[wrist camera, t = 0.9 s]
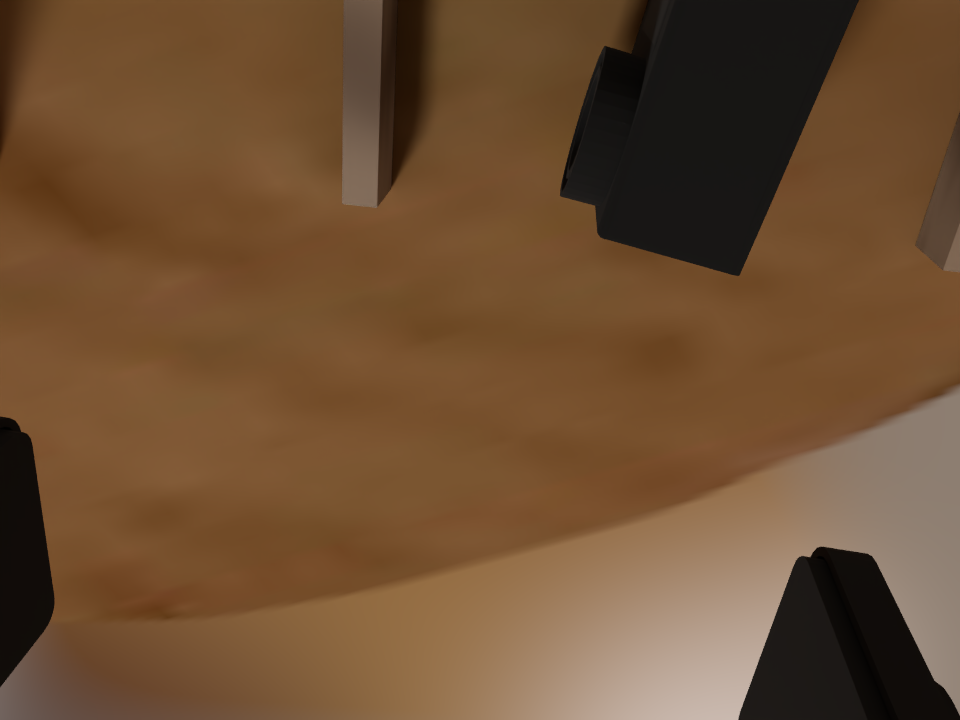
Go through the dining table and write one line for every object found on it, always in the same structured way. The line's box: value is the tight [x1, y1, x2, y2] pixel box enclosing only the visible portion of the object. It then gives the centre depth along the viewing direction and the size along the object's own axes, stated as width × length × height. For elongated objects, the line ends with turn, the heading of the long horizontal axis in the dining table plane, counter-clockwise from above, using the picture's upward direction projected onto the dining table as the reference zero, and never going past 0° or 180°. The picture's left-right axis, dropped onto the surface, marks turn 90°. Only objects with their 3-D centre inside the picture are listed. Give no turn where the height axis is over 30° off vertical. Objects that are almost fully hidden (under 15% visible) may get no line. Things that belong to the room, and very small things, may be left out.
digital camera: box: [560, 0, 859, 276], centre depth 24 cm, size 10×5×7 cm, turn 166°
